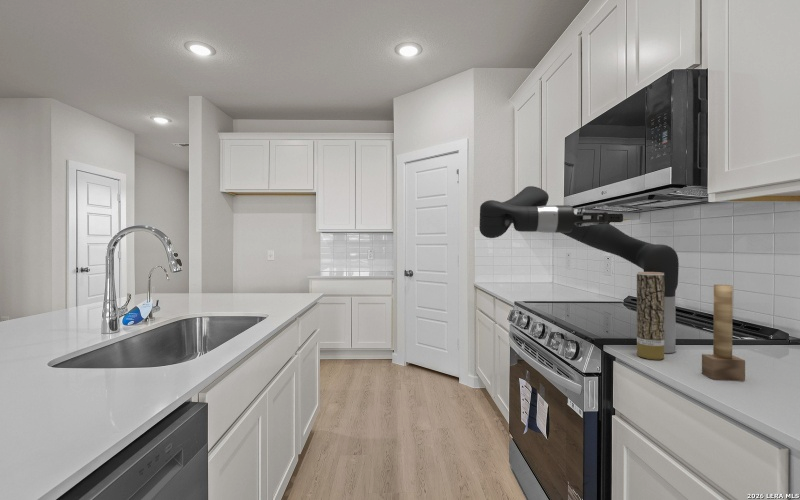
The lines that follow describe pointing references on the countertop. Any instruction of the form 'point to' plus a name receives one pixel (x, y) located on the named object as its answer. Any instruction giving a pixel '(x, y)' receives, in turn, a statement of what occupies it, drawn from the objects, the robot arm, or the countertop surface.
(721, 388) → the countertop surface
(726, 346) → the dowel
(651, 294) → the brown bark cylinder
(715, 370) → the wooden block
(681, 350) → the countertop surface
